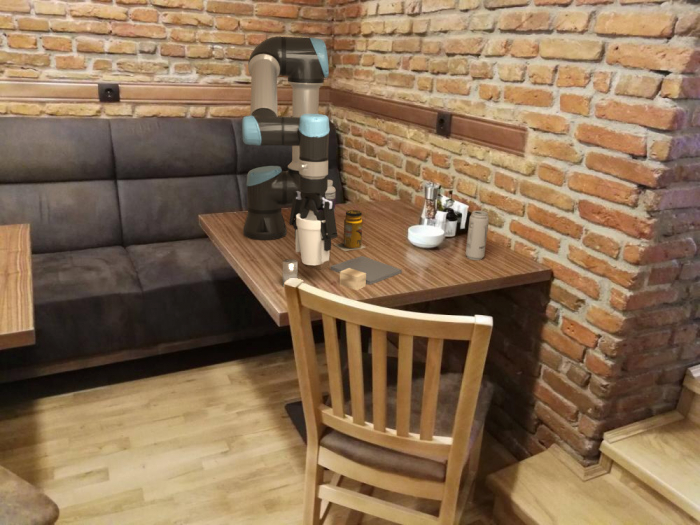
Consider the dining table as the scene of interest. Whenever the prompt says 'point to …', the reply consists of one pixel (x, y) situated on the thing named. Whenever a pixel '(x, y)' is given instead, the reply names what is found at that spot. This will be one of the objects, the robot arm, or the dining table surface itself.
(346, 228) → the condiment
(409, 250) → the dining table surface
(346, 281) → the beech block
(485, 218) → the energy drink can
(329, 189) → the pill bottle
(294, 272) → the metal shaker
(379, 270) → the slate board
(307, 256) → the foam cup
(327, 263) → the brown cube
